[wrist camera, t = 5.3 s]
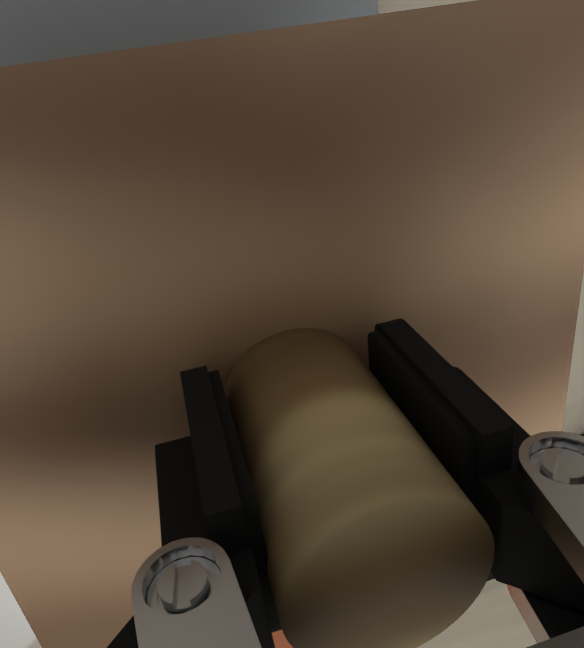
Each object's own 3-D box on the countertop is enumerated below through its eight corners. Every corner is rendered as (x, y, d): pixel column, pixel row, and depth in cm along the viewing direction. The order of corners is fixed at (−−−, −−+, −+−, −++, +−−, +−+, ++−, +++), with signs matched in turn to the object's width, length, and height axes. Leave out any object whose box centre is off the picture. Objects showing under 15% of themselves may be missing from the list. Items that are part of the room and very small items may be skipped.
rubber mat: (-108, 10, 20) (-113, 9, 19) (370, -46, 23) (374, -48, 22) (68, 454, 28) (67, 460, 28) (392, 368, 32) (396, 372, 31)
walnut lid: (-211, 96, 9) (-775, 172, 3) (575, -13, 11) (1000, -74, 6) (68, 644, 15) (37, 971, 10) (523, 499, 18) (698, 697, 12)
